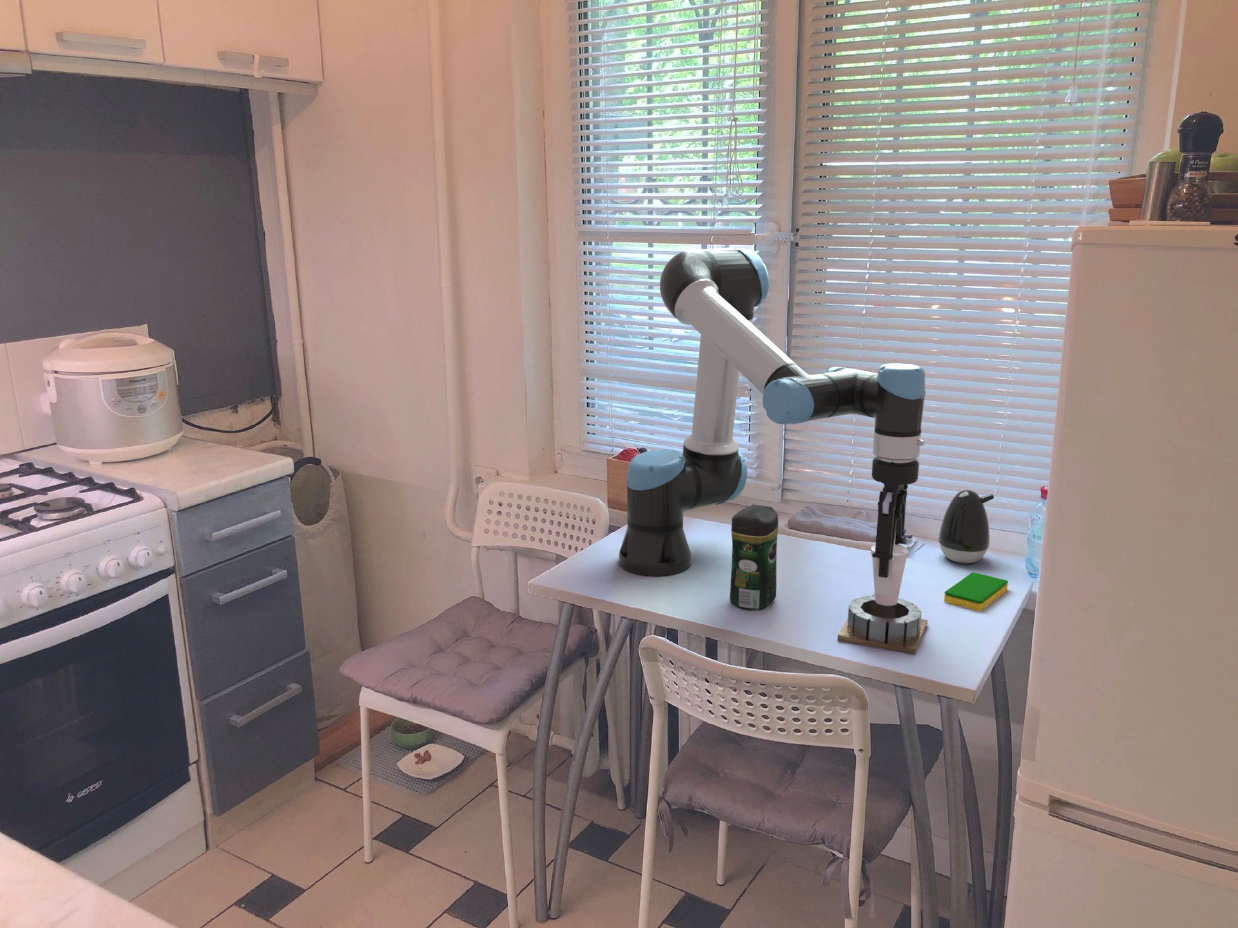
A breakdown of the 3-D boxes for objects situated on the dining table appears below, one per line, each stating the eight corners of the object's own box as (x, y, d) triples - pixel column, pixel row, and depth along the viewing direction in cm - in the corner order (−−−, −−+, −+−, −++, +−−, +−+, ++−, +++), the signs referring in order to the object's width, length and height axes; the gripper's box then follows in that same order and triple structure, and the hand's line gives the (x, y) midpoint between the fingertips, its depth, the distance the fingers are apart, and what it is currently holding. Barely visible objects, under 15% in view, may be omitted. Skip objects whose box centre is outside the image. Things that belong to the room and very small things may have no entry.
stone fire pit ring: (837, 640, 167) (838, 616, 165) (854, 612, 178) (855, 589, 177) (914, 654, 161) (917, 630, 160) (927, 625, 172) (929, 601, 171)
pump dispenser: (995, 568, 199) (1002, 497, 195) (944, 567, 200) (951, 497, 196) (979, 551, 209) (986, 483, 205) (931, 550, 209) (936, 483, 206)
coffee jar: (741, 589, 189) (744, 499, 184) (780, 597, 185) (784, 504, 180) (723, 607, 180) (725, 513, 176) (763, 615, 177) (767, 519, 172)
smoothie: (912, 607, 166) (918, 529, 162) (877, 610, 164) (882, 532, 161) (894, 593, 172) (899, 518, 168) (860, 596, 170) (865, 520, 167)
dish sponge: (1007, 591, 188) (1008, 580, 188) (980, 613, 178) (981, 601, 178) (971, 582, 193) (972, 571, 192) (942, 603, 183) (943, 591, 182)
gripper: (908, 473, 151) (898, 610, 157) (928, 446, 168) (918, 571, 174) (860, 468, 154) (852, 602, 160) (884, 442, 171) (876, 564, 177)
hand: (886, 585), depth 167 cm, fingers closed on smoothie, 6 cm apart
